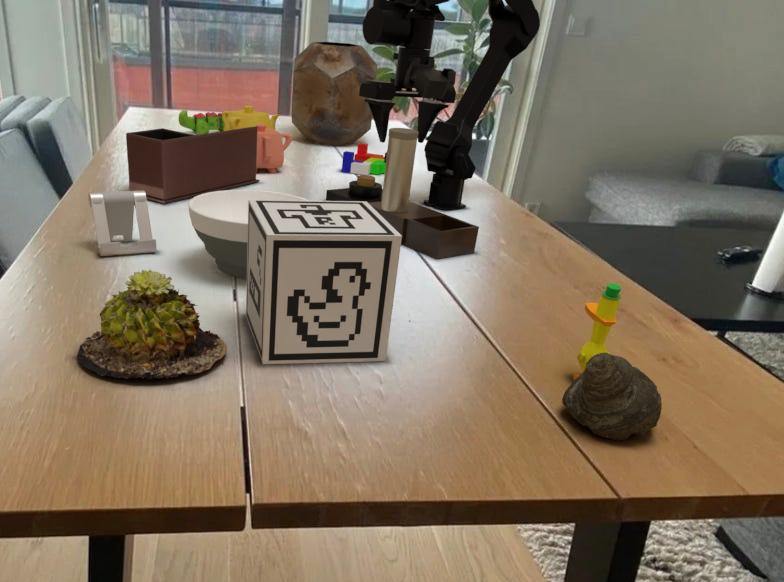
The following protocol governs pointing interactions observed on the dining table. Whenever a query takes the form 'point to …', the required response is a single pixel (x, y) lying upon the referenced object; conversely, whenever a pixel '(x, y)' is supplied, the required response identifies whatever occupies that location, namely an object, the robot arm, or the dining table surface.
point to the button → (366, 180)
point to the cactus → (150, 333)
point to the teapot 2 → (270, 148)
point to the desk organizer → (190, 162)
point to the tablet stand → (121, 221)
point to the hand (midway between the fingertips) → (401, 142)
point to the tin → (399, 169)
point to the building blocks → (363, 161)
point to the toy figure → (600, 323)
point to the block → (320, 280)
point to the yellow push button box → (356, 193)
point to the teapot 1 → (247, 119)
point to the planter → (331, 93)
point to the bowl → (228, 225)
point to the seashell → (613, 398)
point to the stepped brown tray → (431, 231)
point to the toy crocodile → (202, 122)
